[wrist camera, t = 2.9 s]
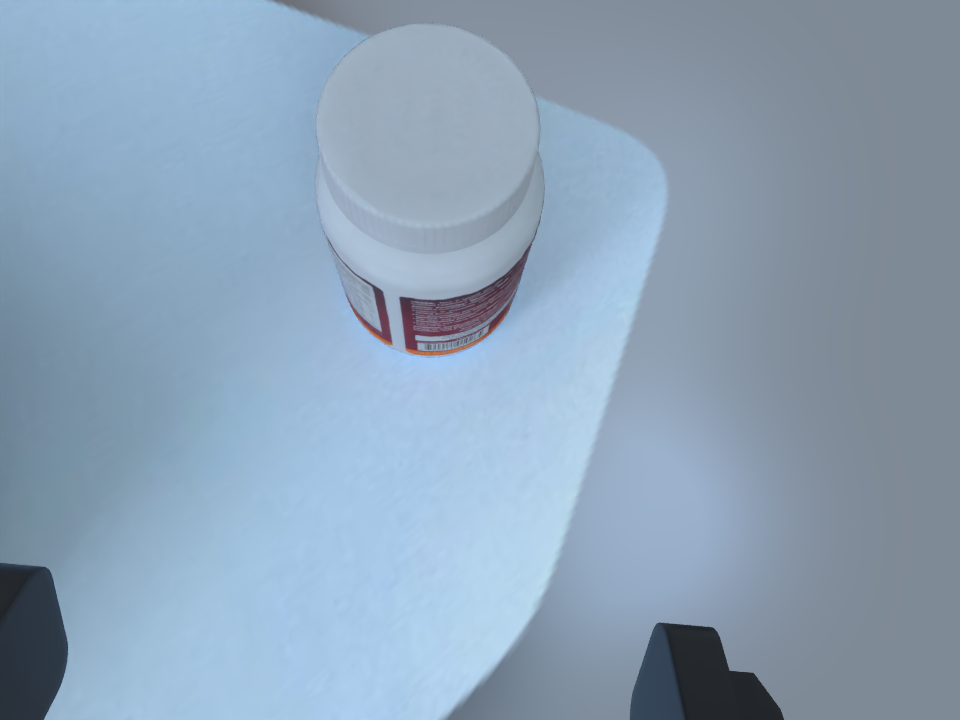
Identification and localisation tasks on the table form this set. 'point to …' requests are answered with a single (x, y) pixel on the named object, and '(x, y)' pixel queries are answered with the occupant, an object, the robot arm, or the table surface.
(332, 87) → the pill bottle
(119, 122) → the table surface
